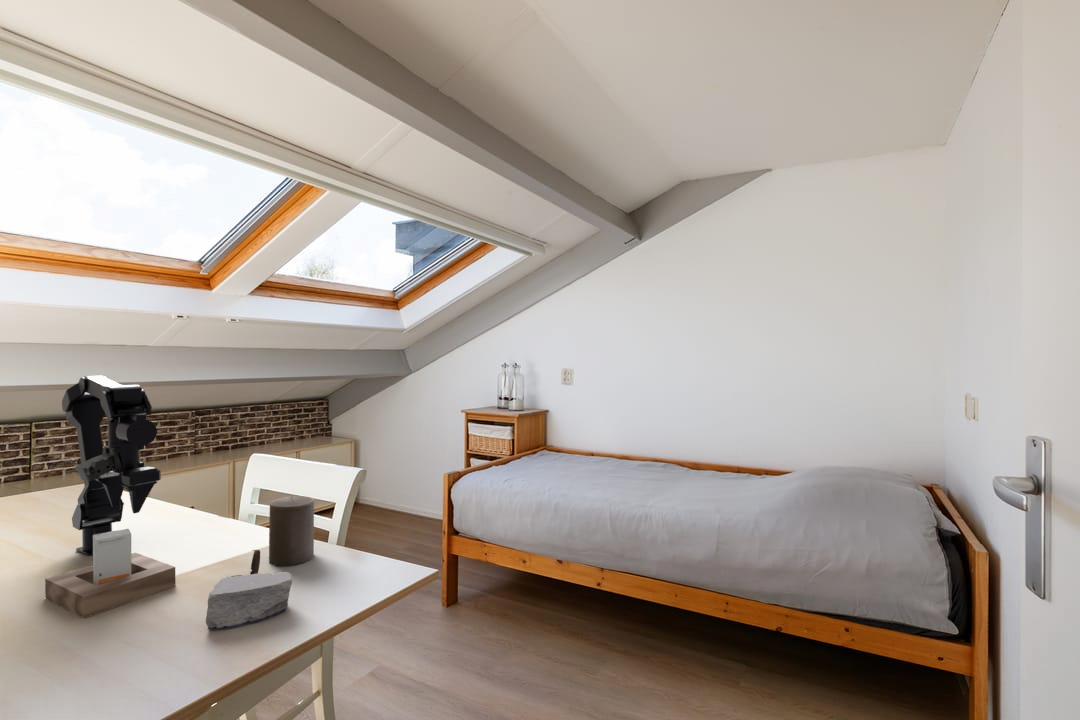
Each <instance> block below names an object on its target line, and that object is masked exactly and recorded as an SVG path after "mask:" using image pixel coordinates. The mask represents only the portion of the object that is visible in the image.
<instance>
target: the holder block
mask: <svg viewBox="0 0 1080 720" xmlns="http://www.w3.org/2000/svg"><path fill="white" fill-rule="evenodd" d="M44 583H45V584H44V589H45V590H44V591H45V592H44V594H45V598H46V599H45V600H47V599H48V600H47V601H49V602H51V603H53V604H55V605H57V606H59V607H61V608H62V609H65V610H66V611H69V612H71V613H73V614H75V615H77V616H79V617H80V618H82V619H86V618H89V617H92V616H94V615H98V614H100V613H103V612H106V611H109V610H111V609H114V608H116V607H117V608H118V607H120V606H123V605H126V604H128V603H132V602H135V601H137V600H139V599H143V598H145V597H148V596H151V595H153V594H157V593H159V592H162V591H165V590H168V589H171V588H174V587H176V566H174V565H171V564H168V563H165V562H163V561H160V560H157V559H154V558H151V557H148V556H145V555H143V554H140V553H138V552H131V575H129V576H126V577H123V578H120V579H116V580H113V581H110V582H107V583H104V584H101V585H98V586H96V585H94V584H93V564H92V565H87V566H84V567H81V568H77V569H74V570H73V569H72V570H70V571H67V572H64V573H60V574H57V575H53V576H50V577H46V578H45V579H44ZM131 601H132V602H131Z"/></svg>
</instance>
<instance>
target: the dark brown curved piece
mask: <svg viewBox="0 0 1080 720" xmlns="http://www.w3.org/2000/svg"><path fill="white" fill-rule="evenodd" d="M252 551H253V554H252V559H251V564H250V570H251V571H249V575H251V574H259V570H260V564H261V551H260V549H253V550H252ZM241 575H242V574H238V575H237V574H236V575H231V576H230V577H234V576H241Z"/></svg>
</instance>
